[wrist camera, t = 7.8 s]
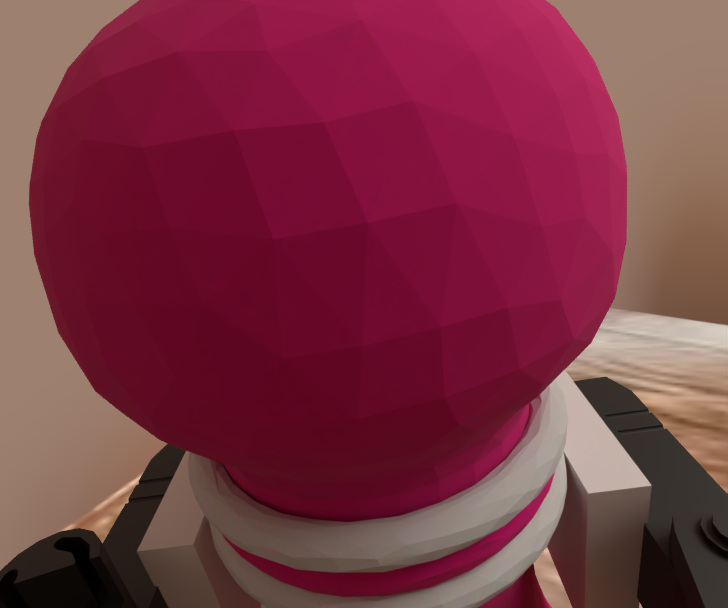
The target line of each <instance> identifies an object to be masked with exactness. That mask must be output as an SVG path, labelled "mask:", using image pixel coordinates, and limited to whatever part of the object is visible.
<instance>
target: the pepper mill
mask: <svg viewBox="0 0 728 608" xmlns="http://www.w3.org/2000/svg"><path fill="white" fill-rule="evenodd" d="M29 208H30V217H31V228H32V237H33V247H34V255H35V258H36V262H37V265H38V269H39V272H40V275H41V278H42V281H43V285H44V288H45V291H46V294H47V298H48V301H49V304H50V307H51V310H52V313H53V317H54V320H55V323H56V326H57V329H58V332H59V334H60V336H61V337H62V339H63V341H64V342H65V344H66V345H67V347H68V349H69V350H70V352H71V353H72V355H73V357H74V358H75V360H76V361H77V363H78V364H79V366H80V368H81V369H82V371H83V372H84V374H85V376H86V377H87V379H88V380H89V382H90V383H91V385H92V387H93V388H94V390H95V391H96V392H97V393H98V394H100V395H101V396H102V397H103V398H104V399H106V400H107V401H108V402H109V403H111V404H112V405H113V406H115V407H116V408H117V409H118V410H119V411H121V412H122V413H123V414H125V415H126V416H127V417H129V418H130V419H132V420H133V421H134V422H136V423H137V424H139V425H140V426H141V427H143V428H144V429H145V430H147V431H148V432H150V433H151V434H152V435H154V436H155V437H157V438H158V439H159V440H161V441H164V442H166V443H168V444H170V445H172V446H174V447H177V448H180V449H182V450H185V451H188V452H189V458H188V472H189V481H190V484H191V487H192V490H193V493H194V496H195V499H196V500H197V502H198V504H199V506H200V507H201V509H202V511H203V513H204V514H205V516H206V518H207V520H208V521H209V524H210V529H211V533H212V537H213V541H214V546H215V549H216V551H217V552H218V554H219V556H220V558H221V560H222V562H223V563H224V565H225V567H226V568H227V570H228V571H229V573H230V574H231V576H232V577H233V578H234V580H235V581H236V582H237V584H238V585H239V586H240V587H241V588H242V590H243V591H245V592H246V593H247V594H249V595H250V596H251V597H253V598H254V599H255V600H257V601H258V602H259V603H261V604H262V605H263V606H265V607H266V608H552V607H551V606H550V605H549V603H548V602H547V600H546V599H545V597H544V595H543V593H542V590H541V588H540V585H539V583H538V580H537V578H536V575H535V570H534V565H533V563H534V562H535V561H536V560H537V558H538V557H539V556H540V554H541V553H542V552H543V551H544V549H545V548H546V547H547V545H548V543H549V541H550V539H551V537H552V535H553V533H554V531H555V529H556V527H557V525H558V522H559V519H560V517H561V514H562V511H563V507H564V502H565V497H566V491H567V473H566V464H565V457H564V452H563V451H564V447H565V444H566V436H567V425H568V414H567V409H566V403H565V399H564V394H563V392H562V390H561V388H560V386H559V384H558V382H557V380H556V378H557V377H558V376H559V375H560V374H561V373H562V372H563V371H564V370H565V369H566V368H567V367H568V366H569V365H570V364H571V363H572V362H573V361H574V360H575V359H576V357H577V356H578V355H579V354H580V353H581V352H582V351H583V350H584V349H585V348H586V347H587V346H588V345H589V344H590V343H591V342H592V340H593V338H594V336H595V334H596V333H597V331H598V329H599V327H600V325H601V323H602V321H603V319H604V317H605V315H606V314H607V312H608V310H609V308H610V306H611V304H612V302H613V300H614V298H615V295H616V290H617V284H618V280H619V275H620V270H621V265H622V260H623V255H624V250H625V245H626V227H627V220H626V219H627V166H626V160H625V154H624V149H623V142H622V137H621V131H620V125H619V119H618V115H617V113H616V110H615V108H614V106H613V103H612V101H611V99H610V96H609V94H608V92H607V89H606V87H605V84H604V82H603V80H602V77H601V75H600V73H599V70H598V68H597V66H596V63H595V61H594V60H593V58H592V56H591V55H590V53H589V52H588V50H587V49H586V47H585V46H584V45H583V43H582V42H581V41H580V39H579V38H578V37H577V36H576V34H575V33H574V31H573V30H572V29H571V27H570V26H569V25H568V23H567V22H566V21H565V19H564V18H563V17H562V16H561V14H560V13H559V11H558V10H557V9H556V8H555V7H554V6H552V5H551V4H550V3H548V2H547V1H546V0H139V1H138V2H137V3H135V4H134V5H132V6H131V7H130V8H128V9H127V10H126V11H125V12H123V13H122V14H121V15H119V16H118V17H117V18H115V19H114V20H113V21H111V22H110V23H109V24H107V25H106V26H105V27H103V28H102V29H101V31H100V32H99V33H98V34H97V35H96V36H95V38H94V39H93V40H92V41H91V42H90V43H89V44H88V46H87V47H86V48H85V49H84V50H83V51H82V52H81V54H80V55H79V56H78V57H77V58H76V59H75V61H74V62H73V63H72V64H71V65H70V66H69V68H68V69H67V71H66V73H65V75H64V77H63V80H62V81H61V84H60V85H59V88H58V89H57V92H56V94H55V95H54V98H53V100H52V102H51V104H50V106H49V108H48V110H47V112H46V114H45V116H44V118H43V120H42V122H41V126H40V129H39V132H38V135H37V139H36V145H35V152H34V159H33V166H32V173H31V179H30V190H29Z"/></svg>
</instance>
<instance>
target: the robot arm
mask: <svg viewBox="0 0 728 608" xmlns="http://www.w3.org/2000/svg"><path fill="white" fill-rule="evenodd" d="M556 380H557V382H558V384H559V386H560V388H561V390H562V392H563V394H564V399H565V403H566V409H567V414H568V425H567V436H566V444H565V447H564V451H563V452H564V457H565V464H566V473H567V491H566V497H565V502H564V507H563V511H562V514H561V517H560V519H559V522H558V525H557V527H556V529H555V531H554V533H553V535H552V537H551V539H550V541H549V543H548V545H547V547H548V550H549V552H550V554H551V557H552V559H553V562H554V564H555V566H556V569H557V571H558V573H559V576H560V578H561V581H562V583H563V585H564V588H565V590H566V593H567V595H568V597H569V600H570V602H571V605H572V607H573V608H639V602H640V604H641V605H642V607H643V608H728V494H727V493H726V492H725V491H724V490H723V489H722V488H721V487H720V486H719V485H718V484H717V483H716V482H715V480H714V479H713V478H712V477H711V476H710V475H709V474H708V473H707V472H706V471H705V470H704V469H703V468H702V466H701V465H700V464H699V463H698V462H697V461H696V460H695V459H694V458H693V457H692V456H691V455H690V454H689V452H688V451H687V450H686V449H685V448H684V447H683V446H682V445H681V444H680V443H679V442H678V441H677V440H676V438H675V437H674V436H673V435H672V434H671V433H670V432H669V431H668V430H667V429H664V428H663V424H662V423H661V422H660V421H659V420H658V419H657V418H656V417H655V416H654V415H653V414H652V413H649V411H648V408H647V407H646V406H645V405H644V404H643V403H642V402H641V401H640V400H639V399H638V397H637V396H636V395H635V394H634V393H633V392H632V391H631V390H629V389H627V388H625V387H624V386H622V385H620V384H618V383H616V382H614V381H613V380H611V379H609V378H607V377H601V378H594V379H587V380H580V381H573V380H572V379H571V378H570V376H569V375H568V374H567V372H566V371H565V370H564V371H563V372H562V373H561V374H560V375H559V376H558V377H557V378H556ZM188 458H189V452H188V451H185V450H182V449H180V448H177V447H174V446H172V445H170V444H167V445H166V446H165V447H164V448H163V449H162V450H161V451H160V452H159V453H157V454H156V455H155V456H154V457H153V458H152V459H151V461H150V462H149V464H148V466H147V468H146V469H145V471H144V473H143V475H142V476H141V478H140V480H139V485H136V487H135V488H134V490H133V492H132V494H131V495H130V497H129V503H127V504H125V506H124V508H123V509H122V511H121V513H120V514H119V516H118V518H117V520H116V521H115V523H114V525H113V527H112V528H111V530H110V532H109V534H108V535H107V537H106V539H105V540H104V542H103V544H102V542H101V541H100V539H99V538H98V537H97V535H96V534H95V533H94V532H93V531H89V530H85V529H80V528H78V529H72V530H67V531H61V532H58V533H56V534H54V535H51V536H49V537H47V538H45V539H42V540H40V541H38V542H36V543H35V544H33V545H32V546H30V547H29V548H27V549H26V550H24V551H23V552H21V553H20V554H18V555H17V556H16V557H15V558H14V559H13V560H12V561H11V562H9V563H8V564H7V565H6V566H5V567H4V568H3V569H2V570H1V571H0V608H261V605H262V604H261V603H259V602H258V601H257V600H255V599H254V598H253V597H251V596H250V595H249V594H247V593H246V592H245V591H243V590H242V588H241V587H240V586H239V585H238V584H237V582H236V581H235V580H234V578H233V577H232V576H231V574H230V573H229V571H228V570H227V568H226V567H225V565H224V563H223V562H222V560H221V558H220V556H219V554H218V552H217V551H216V549H215V546H214V541H213V537H212V533H211V529H210V524H209V521H208V520H207V518H206V516H205V514H204V513H203V511H202V509H201V507H200V506H199V504H198V502H197V500H196V499H195V496H194V493H193V490H192V487H191V484H190V481H189V472H188Z"/></svg>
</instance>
